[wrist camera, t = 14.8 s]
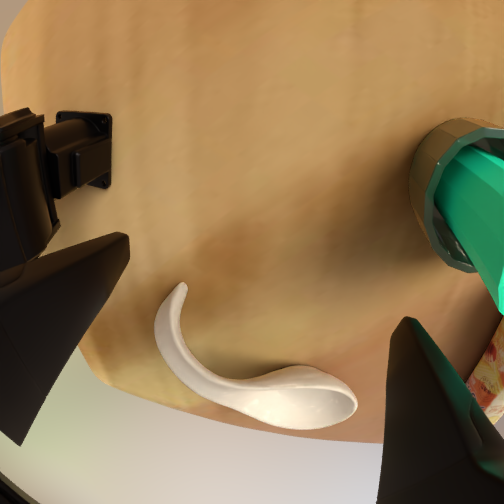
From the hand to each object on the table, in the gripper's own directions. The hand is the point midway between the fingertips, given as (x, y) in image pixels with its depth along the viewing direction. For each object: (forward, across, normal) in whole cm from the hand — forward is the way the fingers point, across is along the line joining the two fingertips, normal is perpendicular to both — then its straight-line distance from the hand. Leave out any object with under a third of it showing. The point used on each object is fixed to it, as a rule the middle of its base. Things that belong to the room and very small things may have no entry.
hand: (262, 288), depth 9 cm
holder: (+13, -12, -3) cm, 18 cm away
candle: (+13, -12, -3) cm, 18 cm away
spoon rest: (+13, -2, +20) cm, 24 cm away
